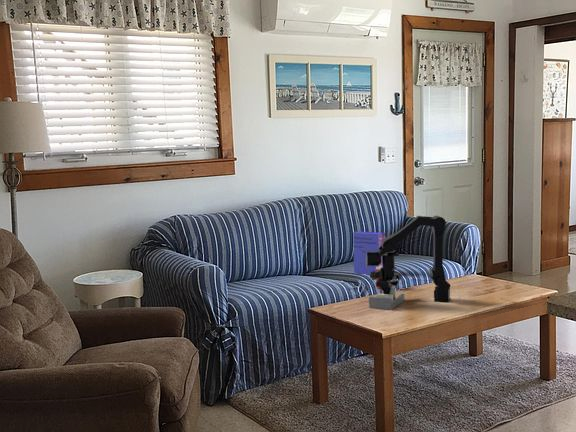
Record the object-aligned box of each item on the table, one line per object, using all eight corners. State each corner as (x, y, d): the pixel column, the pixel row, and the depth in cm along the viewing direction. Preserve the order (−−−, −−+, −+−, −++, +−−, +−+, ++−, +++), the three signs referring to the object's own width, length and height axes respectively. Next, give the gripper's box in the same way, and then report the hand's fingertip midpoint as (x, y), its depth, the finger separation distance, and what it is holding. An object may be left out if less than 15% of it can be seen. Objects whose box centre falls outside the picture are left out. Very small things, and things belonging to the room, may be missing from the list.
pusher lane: (404, 299, 309) (404, 289, 308) (390, 309, 292) (390, 298, 291) (383, 297, 314) (383, 287, 313) (369, 307, 297) (368, 297, 296)
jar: (397, 299, 306) (397, 284, 305) (393, 302, 301) (392, 287, 300) (385, 298, 309) (384, 283, 308) (380, 301, 304) (380, 286, 303)
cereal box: (386, 274, 365) (385, 232, 362) (382, 276, 361) (381, 233, 358) (358, 272, 374) (357, 231, 371) (354, 273, 370) (353, 232, 367)
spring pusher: (393, 304, 299) (393, 294, 299) (392, 304, 298) (392, 295, 298) (378, 302, 303) (377, 293, 302) (377, 303, 302) (377, 294, 301)
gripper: (379, 260, 315) (379, 292, 317) (364, 268, 299) (365, 301, 301) (401, 261, 310) (401, 294, 312) (387, 269, 293) (388, 303, 295)
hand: (389, 298), depth 305 cm, fingers closed on jar, 6 cm apart
